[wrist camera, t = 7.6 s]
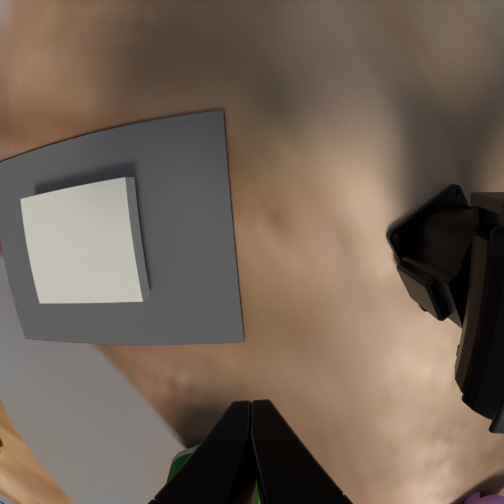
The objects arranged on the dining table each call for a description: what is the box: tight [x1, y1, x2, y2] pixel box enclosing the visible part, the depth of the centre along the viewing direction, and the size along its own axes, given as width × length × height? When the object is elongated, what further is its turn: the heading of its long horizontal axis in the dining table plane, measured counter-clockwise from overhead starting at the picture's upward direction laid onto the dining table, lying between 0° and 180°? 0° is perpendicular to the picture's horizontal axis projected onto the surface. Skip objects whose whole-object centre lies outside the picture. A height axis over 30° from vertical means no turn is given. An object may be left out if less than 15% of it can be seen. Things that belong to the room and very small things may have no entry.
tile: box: [20, 177, 150, 303], centre depth 17 cm, size 2×7×8 cm
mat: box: [0, 110, 244, 345], centre depth 18 cm, size 18×14×1 cm
